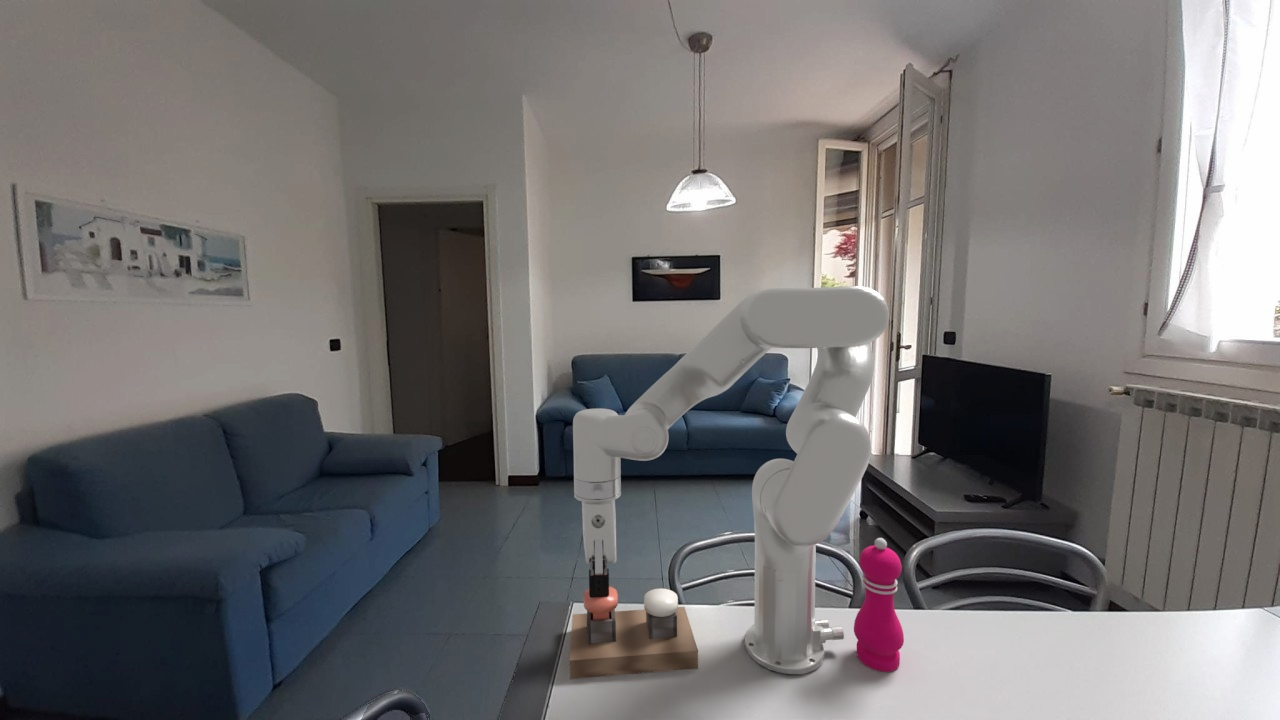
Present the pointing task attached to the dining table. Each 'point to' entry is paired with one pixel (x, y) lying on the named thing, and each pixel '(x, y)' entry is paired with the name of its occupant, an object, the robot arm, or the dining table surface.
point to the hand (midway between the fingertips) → (599, 594)
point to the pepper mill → (879, 609)
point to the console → (631, 644)
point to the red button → (601, 604)
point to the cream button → (661, 602)
